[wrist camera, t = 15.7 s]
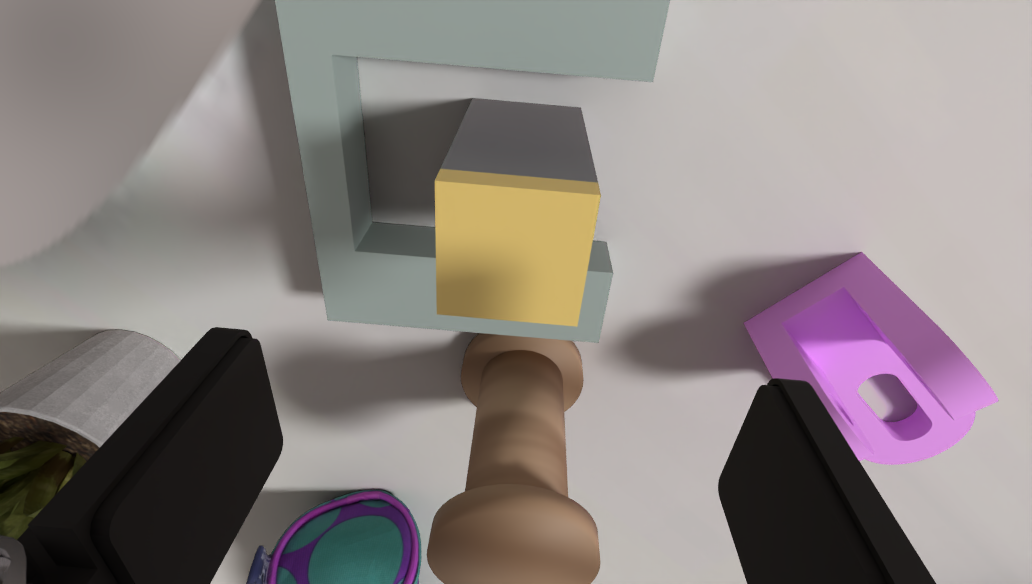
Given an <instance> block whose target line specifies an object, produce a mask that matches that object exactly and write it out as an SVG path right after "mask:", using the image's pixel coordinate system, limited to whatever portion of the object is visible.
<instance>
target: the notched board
mask: <svg viewBox="0 0 1032 584" xmlns="http://www.w3.org/2000/svg"><path fill="white" fill-rule="evenodd" d="M669 3H670V0H275V5H276V11H277V17H278V23H279V29H280V35H281V41H282V47H283V53H284V59H285V65H286V71H287V77H288V83H289V89H290V95H291V101H292V107H293V114H294V120H295V126H296V132H297V138H298V144H299V150H300V156H301V162H302V168H303V174H304V180H305V186H306V192H307V198H308V204H309V210H310V216H311V222H312V229H313V235H314V241H315V247H316V253H317V259H318V265H319V271H320V277H321V283H322V289H323V295H324V301H325V307H326V313H327V319H328V320H330V321H342V322H354V323H366V324H378V325H390V326H402V327H414V328H426V329H438V330H450V331H462V332H474V333H486V334H498V335H510V336H522V337H534V338H546V339H558V340H570V341H582V342H594V343H599V338H600V333H601V329H602V324H603V319H604V314H605V310H606V305H607V300H608V295H609V290H610V286H611V281H612V276H613V270H612V265H611V261H610V256H609V251H608V247H607V242H600V241H593V242H592V248H591V253H590V259H589V264H588V270H587V276H586V281H585V287H584V293H583V298H582V304H581V309H580V315H579V321H578V326H577V327H576V326H564V325H553V324H541V323H530V322H518V321H507V320H495V319H483V318H472V317H460V316H449V315H437V305H436V233H435V228H434V227H422V226H410V225H398V224H386V223H374V222H372V214H371V203H370V192H369V181H368V170H367V160H366V149H365V138H364V127H363V116H362V106H361V95H360V84H359V73H358V62H357V57H364V58H376V59H387V60H399V61H411V62H422V63H434V64H446V65H457V66H469V67H481V68H492V69H504V70H516V71H527V72H539V73H551V74H562V75H574V76H586V77H597V78H609V79H621V80H632V81H644V82H653V79H654V75H655V70H656V65H657V60H658V55H659V51H660V46H661V41H662V36H663V32H664V27H665V22H666V17H667V12H668V8H669Z"/></svg>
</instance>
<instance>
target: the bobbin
mask: <svg viewBox="0 0 1032 584" xmlns="http://www.w3.org/2000/svg"><path fill="white" fill-rule="evenodd" d="M461 383H462V387H463V390H464V392H465V394H466V395H467V397H468V399H469V400H470V401H471V402H472V403H473V404H474V405H475V406H476V407H477V411H476V418H475V425H474V432H473V439H472V446H471V453H470V460H469V467H468V474H467V481H466V488H465V492H463V493H461V494H458V495H456V496H455V497H453V498H451V499H450V500H448V501H447V502H446V503H445V504H443V505H442V506H441V508H440V509H439V510H438V511H437V513H436V515H435V516H434V519H433V523H432V528H431V533H430V538H429V544H428V549H427V560H428V564H429V566H430V568H431V570H432V571H433V573H434V574H435V575H436V576H437V578H438V579H439V580H441V581H442V582H443V583H444V584H590V583H591V582H592V581H593V580H594V579H595V577H596V576H597V574H598V572H599V569H600V553H599V542H598V531H597V527H596V524H595V522H594V520H593V518H592V517H591V515H590V514H589V513H588V512H587V511H586V510H585V509H584V508H583V507H582V506H581V505H580V504H578V503H577V502H575V501H574V500H572V499H570V498H568V486H567V464H566V442H565V420H564V412H565V411H566V410H567V409H569V408H570V407H571V406H572V405H573V404H574V403H575V401H576V400H577V399H578V397H579V395H580V393H581V390H582V387H583V370H582V360H581V356H580V353H579V351H578V349H577V347H576V346H575V344H574V343H573V342H572V341H570V340H558V339H546V338H534V337H522V336H510V335H498V334H486V333H479V334H478V335H477V336H476V337H475V338H474V339H473V340H472V341H471V342H470V344H469V345H468V347H467V349H466V352H465V355H464V360H463V365H462V370H461Z"/></svg>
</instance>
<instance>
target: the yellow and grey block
mask: <svg viewBox="0 0 1032 584" xmlns="http://www.w3.org/2000/svg"><path fill="white" fill-rule="evenodd" d="M600 197H601V194H600V189H599V185H598V181H597V176H596V172H595V167H594V163H593V159H592V154H591V150H590V145H589V141H588V137H587V132H586V128H585V123H584V119H583V115H582V110H581V108H578V107H567V106H556V105H544V104H533V103H522V102H510V101H499V100H488V99H476V98H472V101H471V103H470V105H469V107H468V109H467V111H466V114H465V116H464V118H463V120H462V122H461V125H460V127H459V129H458V131H457V133H456V135H455V138H454V140H453V142H452V144H451V146H450V149H449V151H448V153H447V155H446V157H445V160H444V162H443V164H442V166H441V168H440V170H439V173H438V175H437V177H436V179H435V233H436V305H437V315H449V316H460V317H472V318H483V319H495V320H507V321H518V322H530V323H541V324H553V325H564V326H576V327H577V326H578V321H579V315H580V309H581V304H582V298H583V293H584V287H585V281H586V276H587V270H588V264H589V259H590V253H591V248H592V242H593V236H594V231H595V225H596V220H597V214H598V208H599V203H600Z"/></svg>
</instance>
